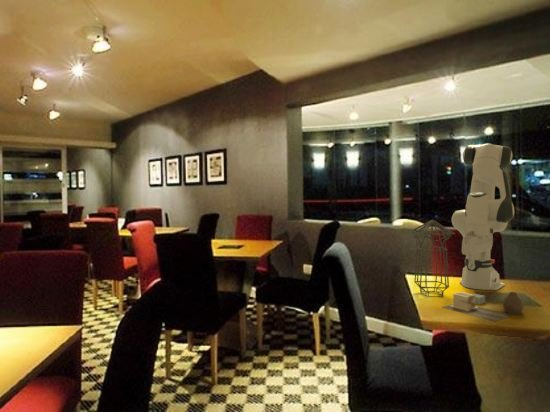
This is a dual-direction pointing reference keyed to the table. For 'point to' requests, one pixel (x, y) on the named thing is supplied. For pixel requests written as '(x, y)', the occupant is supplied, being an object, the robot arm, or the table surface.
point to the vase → (513, 304)
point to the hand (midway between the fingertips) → (477, 262)
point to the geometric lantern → (442, 228)
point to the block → (464, 300)
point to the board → (480, 312)
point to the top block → (479, 299)
